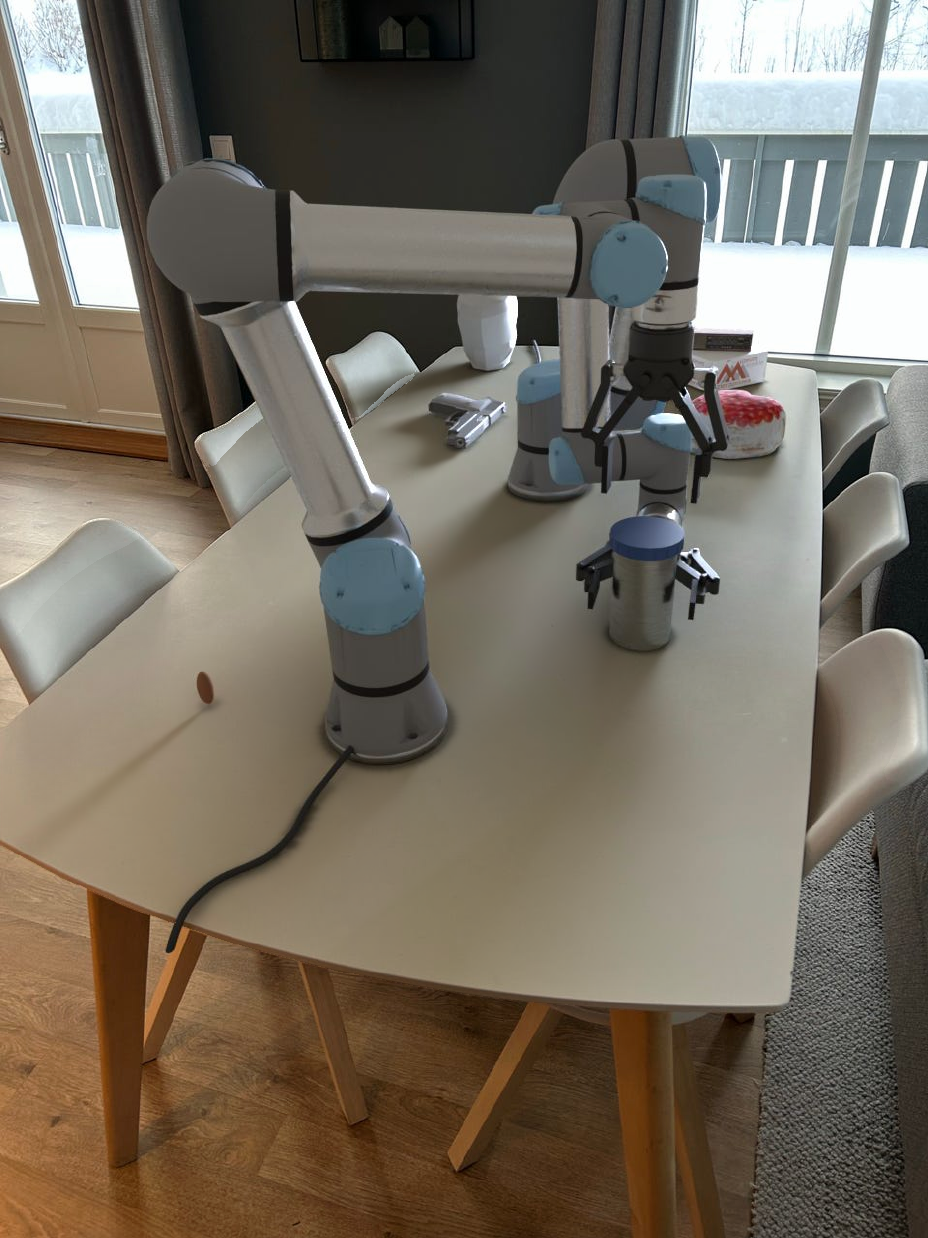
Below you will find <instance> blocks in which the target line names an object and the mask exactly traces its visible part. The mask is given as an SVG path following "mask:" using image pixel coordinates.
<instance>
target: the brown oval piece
mask: <svg viewBox="0 0 928 1238" xmlns="http://www.w3.org/2000/svg"><path fill="white" fill-rule="evenodd" d="M196 689H197V694H198V695H199V698H200V700H201V701H202V702H203V703H204V704H206V705H210V704H211V703H212V702H213V701H214V699H215V688H214V683H213V680H212V679H211V677H210V675H209V674H208V673H207V672H206V671H200V672H199V673H198V674H197V677H196Z"/></svg>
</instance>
